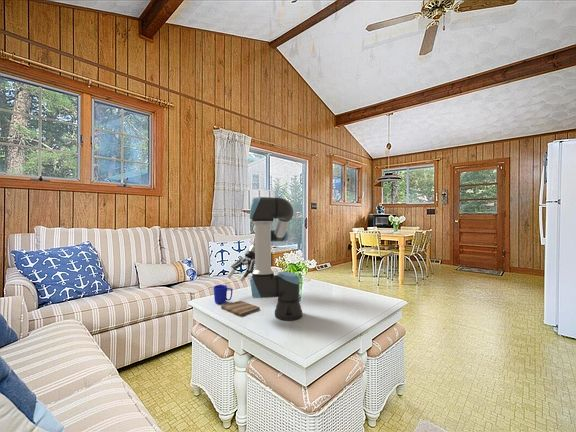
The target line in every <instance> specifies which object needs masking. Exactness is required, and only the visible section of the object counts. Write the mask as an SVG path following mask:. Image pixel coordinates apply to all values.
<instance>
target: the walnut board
mask: <svg viewBox="0 0 576 432" xmlns="http://www.w3.org/2000/svg"><path fill="white" fill-rule="evenodd" d="M220 309H221V310H224V311H225V312H228V313H230V314H233V315H236V316H238V317H243V316H246V315H249V314H251V313H255V312H257V311H260V306H258V305H254V304H251V303H249V302H246V301H243V300H238V301H234V302H230V303H228V304H223V305H221V306H220Z"/></svg>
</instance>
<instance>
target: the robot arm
mask: <svg viewBox="0 0 576 432" xmlns="http://www.w3.org/2000/svg"><path fill="white" fill-rule="evenodd" d="M293 217H294V208H293V206H292V204H291V202H289V201H288V200H287V199H286V198H283V197H266V196H265V197H263V196H260V197H253V198H252V199H251V203H250V211H249V219H250V220H251V222H252V223H253V225H254V241H253V242H252V244H251V245H250V246H249V248H248V250H246V252H245V253H244V257H243V256H241V257H240V258H239V259H238V260H236V261H235V262H234V263H233V264H231V266H230V268H231V269H230V270H229V272H228V273H227V275H226V277H227V278H228V279H229V280H230V279H231V278H232V277H233V275H234V274H235V272H236V270H237V269H238V268H240V267H242V266H246V267H245V268H246V270H245V271H244V272H243V274H241V277H240V279H239V281H240V282H241V283H243V282H244V281H245V280H246V278H247V277H248V275H249V274H252V275H250V276H249V282H250V291H251V296H252V298H254V299H267V298H269V299H270V298H277V303H276V306H275V310H274V316H275V318H276V319H278V320H281V321H296V320H300V319H302V317H303V310H302V306H301V303H300V277H299V275H298V274H296V273H295V272H294V273H293V272H290V271H279V272H278V273H277V274H276V275H275V272H274V270H272V244H271V243H272V242H280V243H281V242H288V239H289V232H288V227H289V223H290V221H291V220H292V219H293ZM274 219H275V220H276V223H275V226H274V227H275V228H274V230H272V229H271V228H272V227H271V225H272V224H273V223H274Z"/></svg>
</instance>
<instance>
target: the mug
mask: <svg viewBox="0 0 576 432" xmlns="http://www.w3.org/2000/svg"><path fill="white" fill-rule="evenodd" d="M228 290H230V298H227V295H228ZM232 296H233V288H232V287H228V286H227V285H226V284H217V285H214V286H213V297H214V303H215V304H217V305H219V304H220V305H221V304H224V303H227V301H231V299H232Z"/></svg>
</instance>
